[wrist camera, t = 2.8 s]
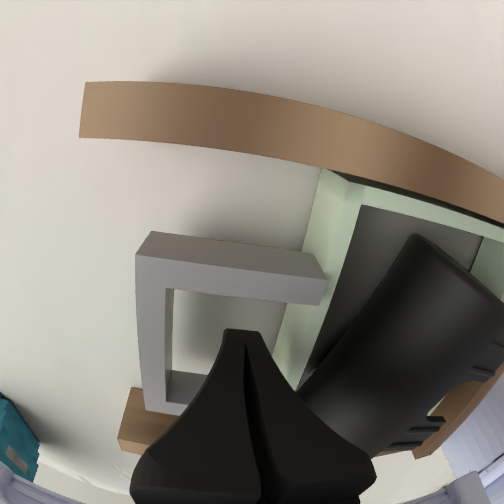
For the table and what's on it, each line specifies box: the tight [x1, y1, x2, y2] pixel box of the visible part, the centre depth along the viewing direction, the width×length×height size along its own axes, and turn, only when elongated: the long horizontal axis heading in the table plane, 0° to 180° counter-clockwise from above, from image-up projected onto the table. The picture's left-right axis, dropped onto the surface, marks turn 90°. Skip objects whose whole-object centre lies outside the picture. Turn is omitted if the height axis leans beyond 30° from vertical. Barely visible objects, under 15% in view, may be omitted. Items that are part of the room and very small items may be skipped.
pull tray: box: [135, 168, 504, 416], centre depth 13 cm, size 17×14×4 cm
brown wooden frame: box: [79, 81, 504, 459], centre depth 12 cm, size 21×18×5 cm
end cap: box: [297, 234, 504, 459], centre depth 12 cm, size 10×7×7 cm
